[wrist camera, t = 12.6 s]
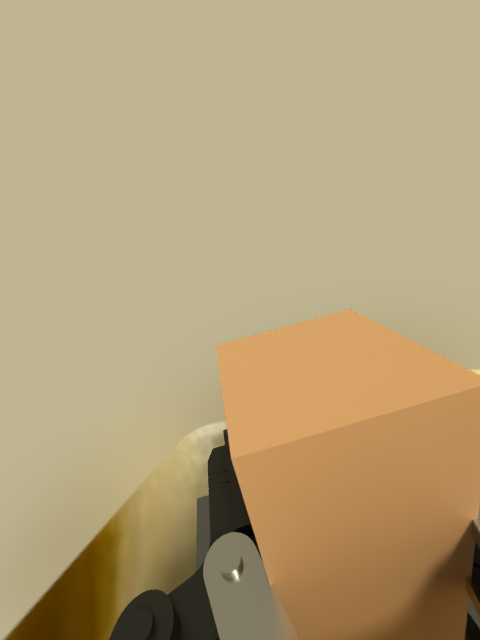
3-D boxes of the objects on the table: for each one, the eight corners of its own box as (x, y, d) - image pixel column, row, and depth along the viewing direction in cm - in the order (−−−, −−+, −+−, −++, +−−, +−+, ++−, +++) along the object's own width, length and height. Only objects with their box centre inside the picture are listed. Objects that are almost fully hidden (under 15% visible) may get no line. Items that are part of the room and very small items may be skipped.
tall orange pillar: (319, 743, 8) (231, 458, 4) (277, 565, 12) (215, 345, 8) (458, 691, 8) (492, 382, 4) (370, 535, 12) (350, 308, 9)
